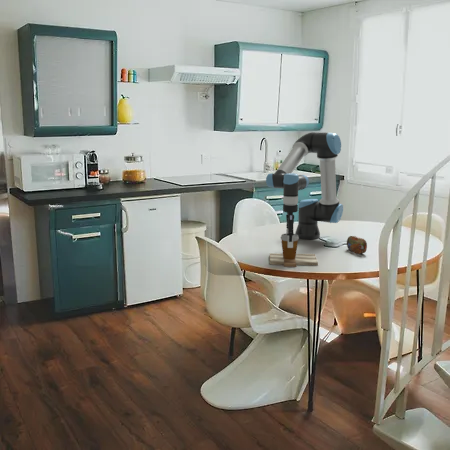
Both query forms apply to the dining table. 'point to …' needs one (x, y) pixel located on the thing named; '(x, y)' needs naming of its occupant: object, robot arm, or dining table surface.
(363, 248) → the tin
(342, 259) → the dining table surface
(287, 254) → the disposable coffee cup
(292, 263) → the board
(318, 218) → the robot arm
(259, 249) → the dining table surface
